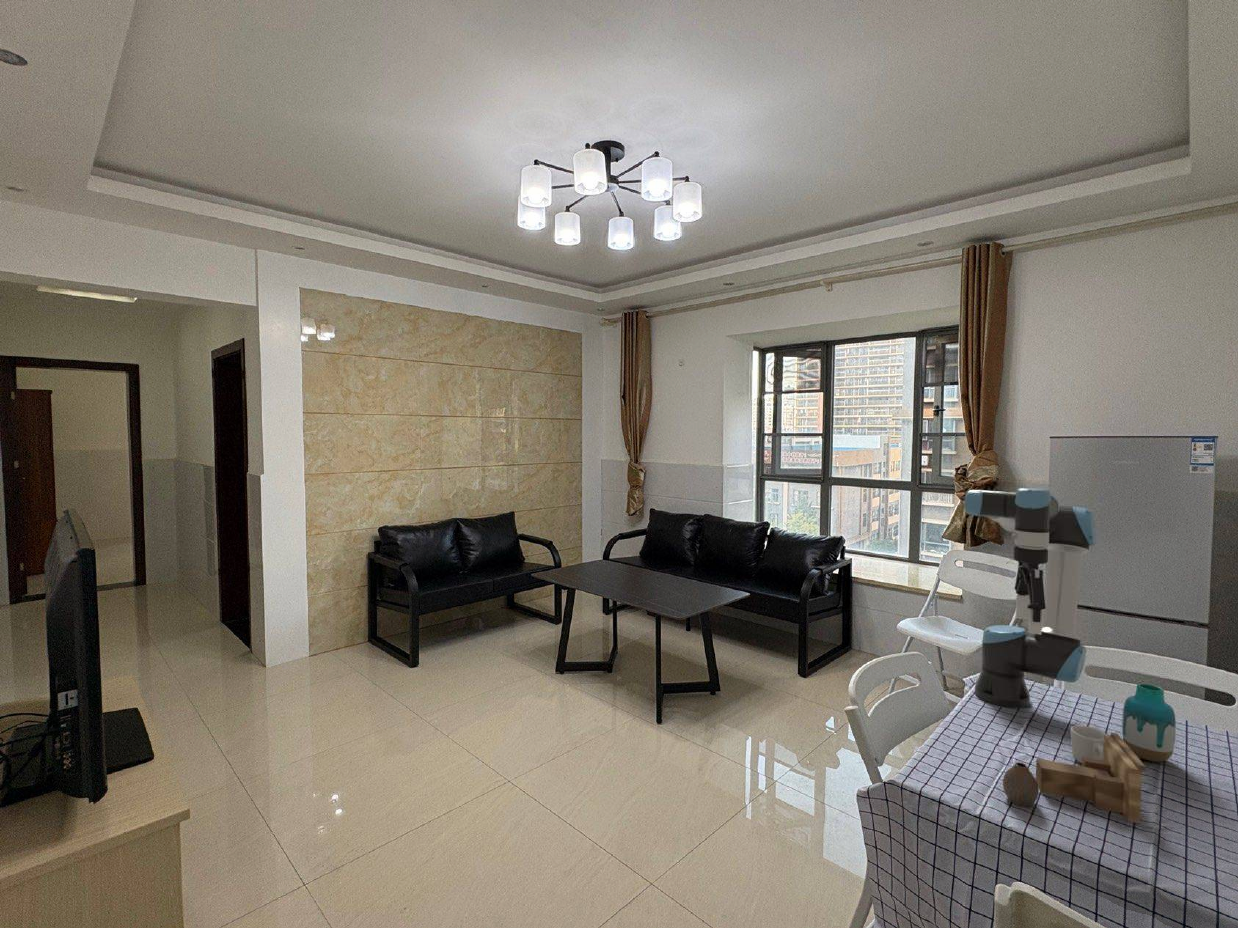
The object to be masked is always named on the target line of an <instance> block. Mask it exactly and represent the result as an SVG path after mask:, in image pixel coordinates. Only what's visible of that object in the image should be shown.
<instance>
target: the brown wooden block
mask: <svg viewBox="0 0 1238 928" xmlns="http://www.w3.org/2000/svg"><path fill="white" fill-rule="evenodd" d="M1035 762H1036V764H1035V765H1036V766H1035V779H1036V781H1037V784H1038V789H1039V791H1040V793H1042V794H1047V795H1052V796H1058V797H1064V798H1070V799H1074V800H1080V801H1085V802H1090V803H1093V786H1094V774H1097V775H1103V776H1108V777H1111V776H1110V775H1109V773H1108V772H1107V771H1106V770H1101V769H1094V768H1088V767H1083V766H1082V765H1075V764H1071V763H1065V762H1059V761H1052V760H1046V759H1043V758H1041V759H1040V758H1036V761H1035Z"/></svg>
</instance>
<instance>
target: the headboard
mask: <svg viewBox="0 0 1238 928" xmlns="http://www.w3.org/2000/svg"><path fill="white" fill-rule="evenodd" d="M1140 759H1141V758H1139V757H1137V756H1136V755H1135V754H1134V752H1133V751H1132V750H1131V749H1130V748H1129V747H1128V745H1127V744H1126V743H1125V742H1124V741H1123V737H1121V736H1120V735H1119V733H1117V732H1112V731H1111V732H1110V736H1109V735H1108V736H1105V735H1104V742H1103V760H1097V759H1091V758H1085V757H1082V763H1081V766H1083V767H1088V768H1094V769H1101V770H1106V771H1107V772H1108V773H1109V775H1110V776H1111V777H1108V776H1103V775H1097V774H1094V786H1093V802H1092V804H1093V806H1094V808H1095V809H1098V810H1102V811H1103V810H1104V811H1107V812H1108V811H1109V812H1113V813H1118V814H1123V816H1124V818H1125V819H1126V820H1127V822H1130V823H1135V824H1140V823H1141V822H1140V821H1141V805H1142V804H1141V802H1142V783H1143V782H1142V781H1143V780H1142V777H1143V771H1144V772H1146V771H1147V769H1146V768H1147V767H1146V766H1147V765H1145V764H1144V763H1143V762H1142V760H1140Z"/></svg>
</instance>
